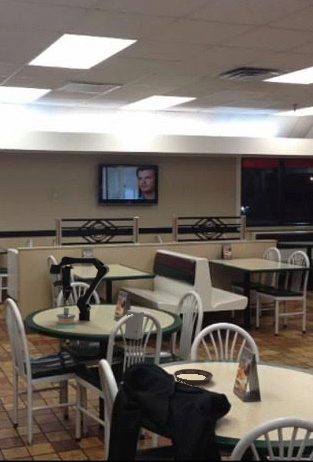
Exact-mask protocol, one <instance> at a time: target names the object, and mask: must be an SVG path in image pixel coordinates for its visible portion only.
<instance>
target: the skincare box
mask: <svg viewBox="0 0 313 462" xmlns="http://www.w3.org/2000/svg"><path fill="white" fill-rule="evenodd" d="M131 314H133V315H134V316H133V317H132V318H130V319H129V320H128V321H127V322H126V321H125V327H124V328H125V329H124V338H125V339H128V340H129V339H130V340H135V341H137V340H140V339H142V337H143V329H144V328H143V327H144V326H143V325H144V316H145V312H144V311H142V310H141V311H140V310H136V309H128V310H126V317H127V316H128V315H131Z"/></svg>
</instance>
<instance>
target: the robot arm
mask: <svg viewBox="0 0 313 462" xmlns="http://www.w3.org/2000/svg"><path fill="white" fill-rule="evenodd" d="M75 264H76V265H77V264H78V265H81V264H83V265H84V264H86V265H87V264H88V265H90V264H92V265H93V267H94V268H95V269H96V270H97V271H96V274H95V277H94V279H93V280H92V282H91V284H90V285H89V287H87V288H88V289H86V291H85V293H84V294H82V295H79V297H78V299H77V300H76V303H75V305H76V307H77V309H78V311H79V312H78V320H79V321H80V322H84V321H85V322H88V321H90V322H91V320H90V319H91V308H92V306H91V305H90V304H89V303H90V300H91V297H92V296H93V294H94V292H95V291H96V289H97V287H98V286H99V284H100V282H101V281H102V280H103V279H104V278H105V277H106V276H107V275H108V274H109V272H110V267H109V266H108V265H107V264H105V263H104V262H102V261H101V260H100V259H99V258H98V257H96V256H94V257H78V256H77V257H76V256H71V255H65V256H63V257H61V261H60V262H59V263H58V264H56V263H51V264H50V268H49V274H50V275H54V276H57V275H59V276H60V275H61V276H60V278H59V279H56V280H53V281H52V285H53V287H54V288H56V287H59V288H60V289H61V291H62V298H63V299H64V300H65V302H68V300H69V298H70V296H71V294H72V291H73V290H74V289H73V286H72V284H71V280H72V277H71V275H72V270H74V269H75V267H74V266H73V265H75Z"/></svg>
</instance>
